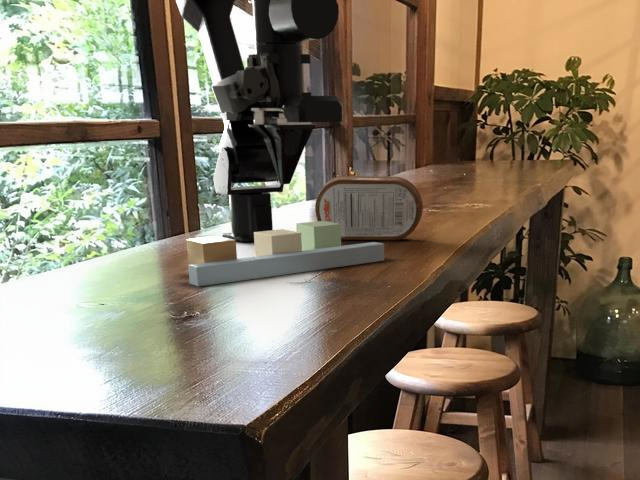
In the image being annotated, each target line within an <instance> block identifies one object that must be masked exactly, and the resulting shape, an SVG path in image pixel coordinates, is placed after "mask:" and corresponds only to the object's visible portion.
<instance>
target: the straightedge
mask: <svg viewBox="0 0 640 480" xmlns="http://www.w3.org/2000/svg"><path fill="white" fill-rule="evenodd" d="M384 261H385V243H383V242H377V241H370V242H364V243H363V242H362V243H355V244H348V245H347V244H346V245H341V246H337V247H329V248H321V249H313V250H305V251H297V252H288V253H280V254H272V255H264V256H256V257H255V256H248V257H241V258H237V259H231V260H223V261H215V262H207V263H199V264H191V265H189V264H188V265H187V269H188V276H189V278H188V279H189V284H190V285H192V286H195V287H197V288H199V287H205V286H211V285H219V284H226V283H234V282H242V281H248V280H255V279H256V280H257V279H263V278H269V277H270V278H271V277H276V276H284V275H290V274H291V275H292V274H299V273H306V272H313V271H319V270H326V269H334V268H341V267H349V266H355V265H363V264H369V263H377V262H384Z"/></svg>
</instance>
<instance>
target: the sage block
mask: <svg viewBox="0 0 640 480" xmlns="http://www.w3.org/2000/svg"><path fill="white" fill-rule="evenodd" d="M295 227H296V232H300V233H301V240H302V251H305V250H313V249H321V248H329V247H337V246H342V240H341V224H338V223H332V222H326V221H318V220H317V221H308V222H307V221H306V222H298V223H296V224H295Z"/></svg>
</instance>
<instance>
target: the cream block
mask: <svg viewBox="0 0 640 480" xmlns="http://www.w3.org/2000/svg"><path fill="white" fill-rule="evenodd" d="M253 242H254V257H256V256H264V255H272V254H280V253H288V252H297V251H302V240H301V233H300V232H297V231H296V230H295V231H294V230H290V229H283V228H281V229H280V228H279V229H273V230H270V231H261V232H254V241H253Z"/></svg>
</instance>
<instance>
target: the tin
mask: <svg viewBox="0 0 640 480" xmlns="http://www.w3.org/2000/svg"><path fill="white" fill-rule="evenodd" d="M423 212H424V204H423V198H422V196H421V193H420V191H419V190H418V188H417V186H415V185H414V184H413V183H412V182H411V181H410V180H408V179H406V178H404V177H400V176H387V175H386V176H385V175H384V176H381V175H380V176H375V175H374V176H373V175H369V176H368V175H361V176H360V175H338V176H336V177H333V178H331V179H329V180H328V181H327V182H326V183H324V185H323V186H322V187H321V189H320V190H319V192H318V195H317V197H316V200H315V205H314V213H315V217H316V220H317V221H326V222H332V223H338V224H341V241H342V240H343V241H393V242H394V241H400V240H403V239H405V238H407V237H409V236H411V234H412V233H413V232H414V231H415V230H416V229H417V227H418V226H419V224H420V222H421V219H422V216H423Z"/></svg>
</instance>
